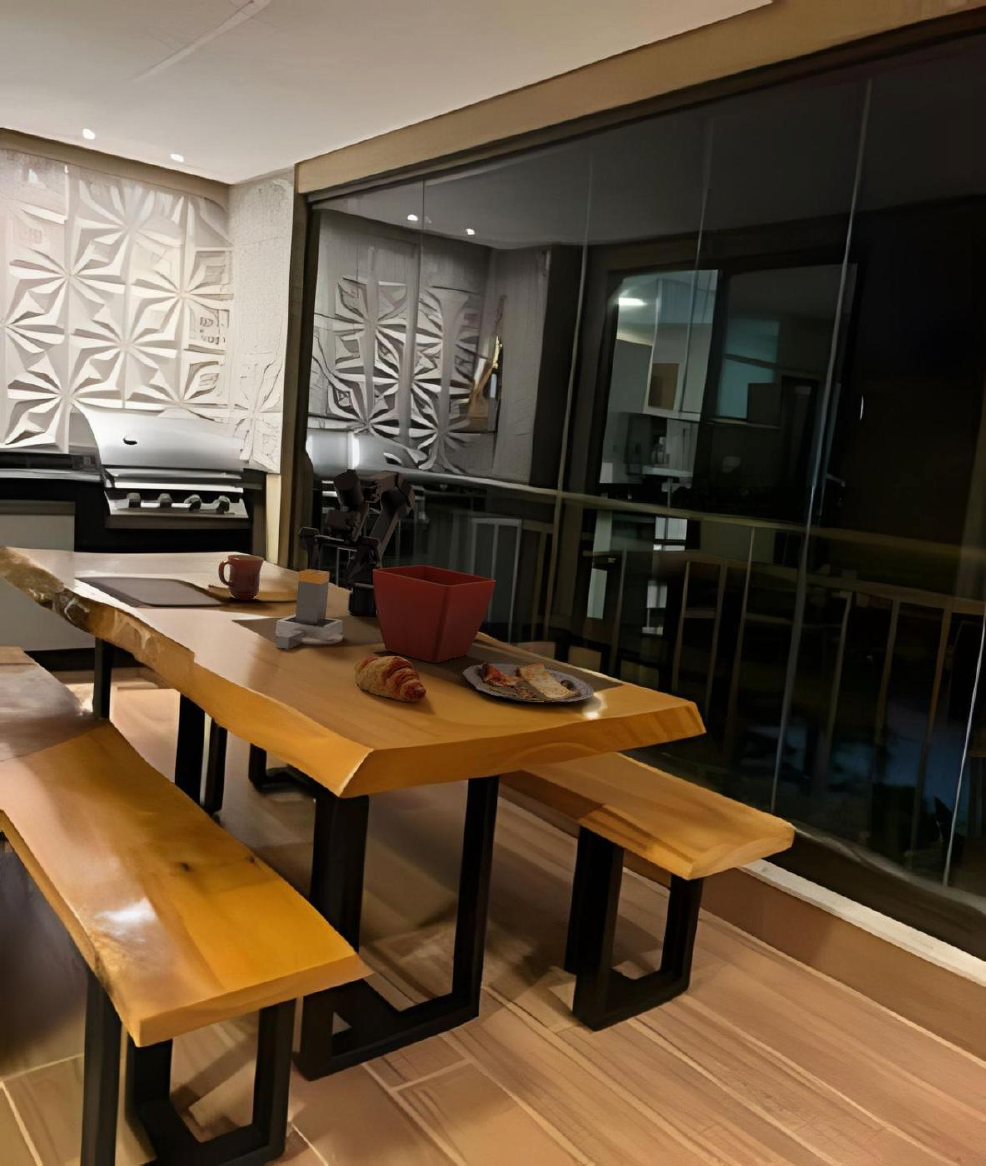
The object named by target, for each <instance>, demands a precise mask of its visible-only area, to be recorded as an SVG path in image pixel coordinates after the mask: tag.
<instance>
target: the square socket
mask: <svg viewBox="0 0 986 1166" xmlns="http://www.w3.org/2000/svg"><path fill="white" fill-rule="evenodd" d="M295 616H296V613H294V614H292V615H289V616H286V617H283V618H281V619H278V620H276V625H275V627H276V628H275V637H276V648H278V649H282V648H285V649H284V650H289V649H288V648H290V649H292V648H294V647H297V646H299V645H302V643H303V645H334V644H339V643H341V642H342V641H343V638H344V636H343V635H344V634H343V633H342V632H343V626H344V625H343V624H344V623H343V622H344V620H342V619H336V618H329V617H326V619H325V626H323V627H319V626H313V625H307V624H300V623H295ZM298 644H299V645H298Z"/></svg>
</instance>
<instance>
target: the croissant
mask: <svg viewBox="0 0 986 1166" xmlns="http://www.w3.org/2000/svg"><path fill="white" fill-rule="evenodd" d="M353 669H354V678H355V681H356V684H358V685H359V686H358V688H359V689H360V690H364V689H365V690H364V691H366V690H369V691H370V692H371V693H370V692H369V691H368V692H369V693H370V694H372V693H374V694H373V695H375V694H376V695H375V696H378V695H380V697H385V698H390V699H393V698H394V699H393V700H397V701H401V702H408V703H413V702H417V701H420V700H423V699H424V698H425V696H426V694H427V689H426V688H425V686H424V684H422V682H421V680H420V679H421V677H420V675H419V673H418V671H416V669H415V667H414V665H413V663H412V662H410V661H409V660H408V659H405V658H404V657H401V656H397V655H396V656H394V655H390V656H386V655H385V656H383V657H379V656H378V657H377V656H371V657H367V658H364V659H362V660H360V661H358V662H357V663H356V664H355V666H354V668H353Z"/></svg>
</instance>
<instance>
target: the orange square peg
mask: <svg viewBox="0 0 986 1166" xmlns="http://www.w3.org/2000/svg"><path fill="white" fill-rule="evenodd" d="M330 575H331V574H330V571H324V570H319V569H318V570H317V569H307V568H306V569H304V570H300V571H299V572H298V583H297V593H296V594H297V595H296V605H295V614H296V616H295V623H300V624H307V625H313V626H319V627H323V626H325V619H326V618H327V617H326V616H327V606H328V594H329V583H330Z"/></svg>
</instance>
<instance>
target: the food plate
mask: <svg viewBox="0 0 986 1166" xmlns="http://www.w3.org/2000/svg"><path fill="white" fill-rule="evenodd" d="M462 675H463V676H464V677H465V679H466V680H467V681H468V682H469V683H470V684H471V685H473V686H474V688H475V687H476V688H475V689H476V690H478V691H482V693H487V694H490V695H492V696H496V697H498V698H499V697H501V696H502V697H501V698H503V697H504V699H507V698H518V697H516V696H514V695H513V696H514V697H513V696H512V695H508V694H505V695H503V694H502V693H500V692H496V691H495V692H493V691H489V690H490V689H489V690H487V689H486V688H485V687H482V684H480V685H481V687H480V686H477V684H478V683H487V684H489V685H491V686H492V687H511V688H514V689H515V691H516V693H517V694H518V696H519V697H526V698H540V697H539V695H538V694H537V693H536V692H534V691H532V690H530V689H528V688H526V687H523V686H522V687H520V686H521V685H520V686H517V685H516V684H519V682H520V681H524V682H526V683H528V684H529V685H531V687H532V688H535V689H537V690H538V691H539V692H541V693H544V695H545V696H546V697H548V698H551V699H552V700H545V699H525V698H518V699H521V700H531V701H544V702H552V701H554V703H558V702H563V701H564V703H568V701H569V703H571V702H570V701H574V702H578V701H582V700H585V699H588V698H590V697H592V696H594V692H595V690H594V688H593V686H592V685H591V684H590V683H588V682H587V681H585V680H582V679H581V678H578V677H577V676H574V675H572V674H568V673H566V672H561V671H559V670H558V671H557V670H553V669H550V668H547V667H545V666H544V663H543V662H541V661H538V662H536V663H530V664H527V665H526V664H516V663H505V662H499V663H495V662H492V663H491V662H489V663H488V662H486V661H484V662H483V661H482V662H481V663H480V664H475V665H474V664H473V665H470V666H469V667H467V668H465V669H464V670H463V671H462ZM509 675H511V676H509ZM568 689H569V690H568Z"/></svg>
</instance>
